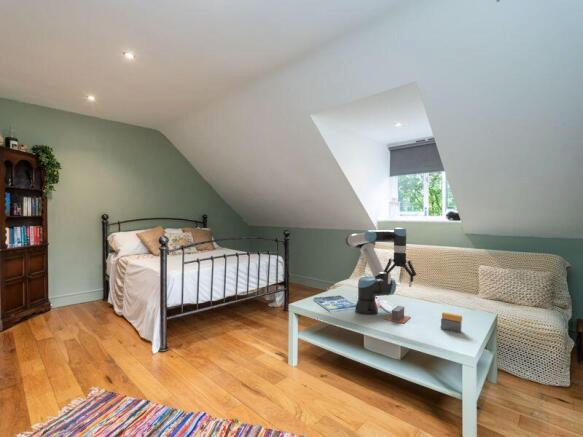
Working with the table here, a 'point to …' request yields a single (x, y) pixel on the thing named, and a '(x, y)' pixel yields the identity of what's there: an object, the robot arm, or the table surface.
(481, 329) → the table surface
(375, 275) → the robot arm
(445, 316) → the orange rectangular beam
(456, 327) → the gray rectangular box
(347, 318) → the table surface
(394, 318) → the tall gray pillar
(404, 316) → the mat
